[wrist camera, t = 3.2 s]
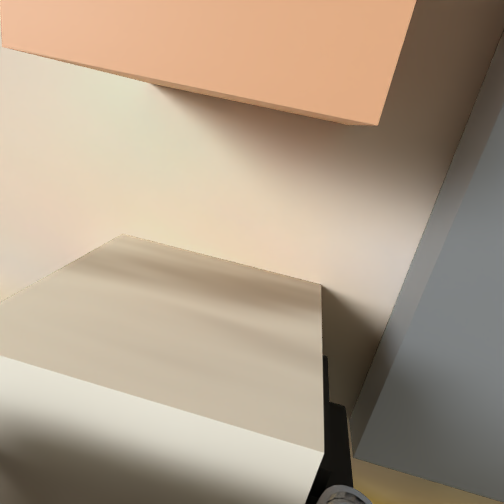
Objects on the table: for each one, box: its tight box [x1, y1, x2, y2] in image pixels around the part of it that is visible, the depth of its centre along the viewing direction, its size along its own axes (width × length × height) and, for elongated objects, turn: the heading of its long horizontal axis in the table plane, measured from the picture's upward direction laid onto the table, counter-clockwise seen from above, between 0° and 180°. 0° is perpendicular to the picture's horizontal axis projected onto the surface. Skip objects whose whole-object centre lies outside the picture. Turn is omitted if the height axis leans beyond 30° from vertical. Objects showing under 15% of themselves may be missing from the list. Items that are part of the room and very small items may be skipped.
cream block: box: [0, 234, 324, 504], centre depth 10 cm, size 6×6×6 cm
